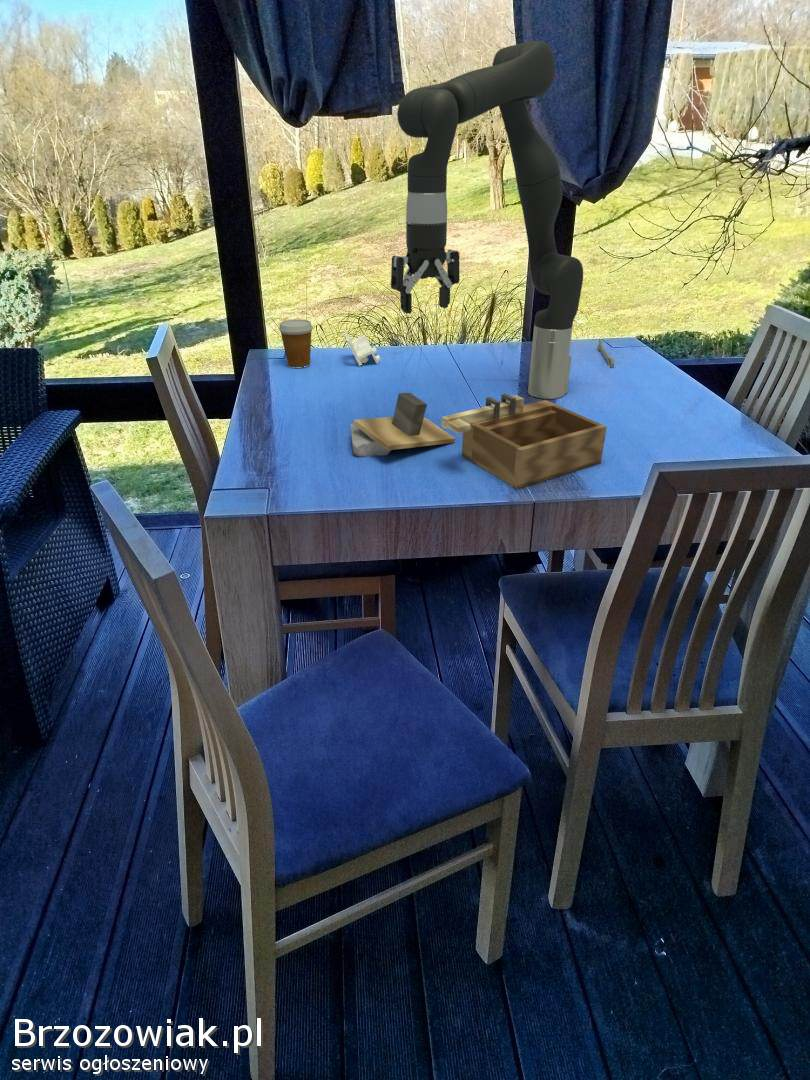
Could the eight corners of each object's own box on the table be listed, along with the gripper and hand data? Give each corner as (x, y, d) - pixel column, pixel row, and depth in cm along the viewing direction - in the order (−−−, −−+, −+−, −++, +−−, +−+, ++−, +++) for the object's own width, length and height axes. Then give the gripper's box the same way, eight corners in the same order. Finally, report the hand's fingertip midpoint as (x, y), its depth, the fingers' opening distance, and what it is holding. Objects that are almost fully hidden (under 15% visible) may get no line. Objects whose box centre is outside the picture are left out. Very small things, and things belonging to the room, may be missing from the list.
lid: (419, 418, 156) (428, 385, 152) (454, 442, 148) (464, 408, 144) (353, 424, 144) (360, 388, 140) (387, 450, 137) (395, 413, 133)
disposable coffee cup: (286, 372, 191) (282, 328, 185) (279, 362, 199) (275, 320, 192) (319, 368, 194) (316, 325, 188) (310, 359, 202) (307, 317, 195)
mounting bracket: (358, 361, 206) (342, 329, 200) (377, 352, 206) (361, 319, 200) (363, 373, 196) (346, 340, 190) (383, 363, 195) (366, 329, 190)
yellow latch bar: (514, 407, 144) (515, 394, 142) (533, 416, 139) (534, 403, 138) (440, 425, 135) (440, 412, 134) (457, 435, 131) (458, 422, 129)
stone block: (390, 441, 154) (346, 435, 152) (394, 422, 152) (350, 415, 149) (397, 465, 144) (350, 460, 142) (401, 445, 142) (354, 439, 140)
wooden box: (541, 434, 152) (547, 383, 146) (600, 463, 139) (609, 409, 133) (461, 455, 142) (464, 402, 136) (517, 489, 129) (522, 432, 123)
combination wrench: (615, 357, 192) (602, 337, 208) (610, 357, 192) (598, 336, 208) (613, 370, 194) (600, 349, 210) (608, 370, 194) (596, 349, 210)
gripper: (446, 215, 131) (444, 302, 140) (382, 219, 125) (384, 310, 133) (470, 218, 126) (466, 309, 134) (404, 224, 119) (404, 318, 128)
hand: (425, 310), depth 134 cm, fingers open, 8 cm apart
